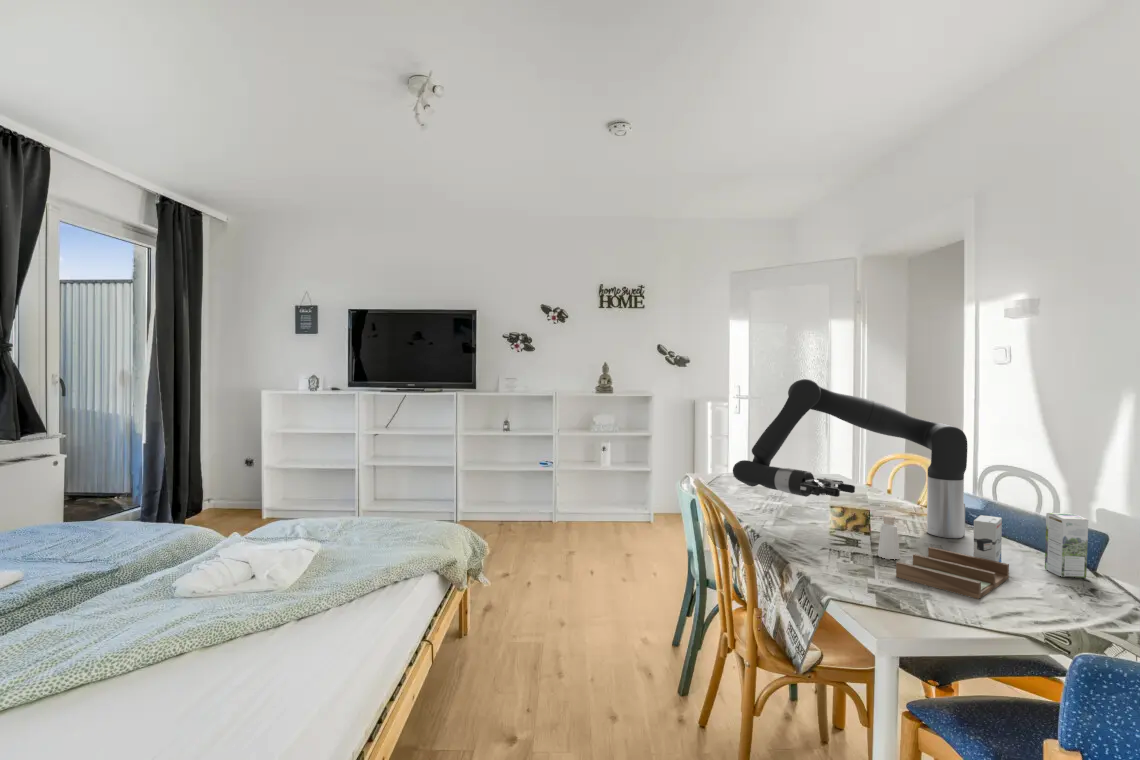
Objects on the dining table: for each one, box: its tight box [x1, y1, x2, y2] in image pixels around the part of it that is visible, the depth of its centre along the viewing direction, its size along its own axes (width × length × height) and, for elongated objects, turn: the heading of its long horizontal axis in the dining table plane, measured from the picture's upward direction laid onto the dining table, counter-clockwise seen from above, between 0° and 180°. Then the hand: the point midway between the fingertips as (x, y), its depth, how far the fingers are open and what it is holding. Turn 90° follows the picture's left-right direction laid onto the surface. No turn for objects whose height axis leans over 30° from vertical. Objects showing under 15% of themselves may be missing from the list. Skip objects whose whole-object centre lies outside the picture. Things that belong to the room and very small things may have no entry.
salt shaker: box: [877, 514, 901, 561], centre depth 154 cm, size 5×5×11 cm
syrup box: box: [1044, 512, 1089, 579], centre depth 140 cm, size 6×6×14 cm
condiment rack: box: [895, 546, 1010, 600], centre depth 138 cm, size 20×17×4 cm
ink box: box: [973, 514, 1003, 563], centre depth 148 cm, size 8×5×12 cm, turn 135°
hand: (846, 491), depth 162 cm, fingers open, 8 cm apart
